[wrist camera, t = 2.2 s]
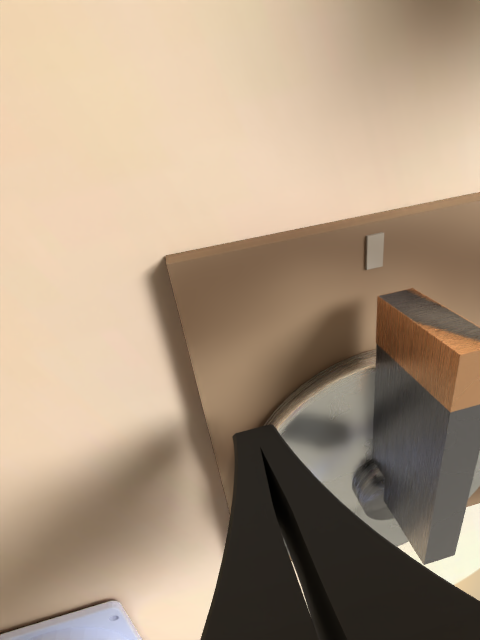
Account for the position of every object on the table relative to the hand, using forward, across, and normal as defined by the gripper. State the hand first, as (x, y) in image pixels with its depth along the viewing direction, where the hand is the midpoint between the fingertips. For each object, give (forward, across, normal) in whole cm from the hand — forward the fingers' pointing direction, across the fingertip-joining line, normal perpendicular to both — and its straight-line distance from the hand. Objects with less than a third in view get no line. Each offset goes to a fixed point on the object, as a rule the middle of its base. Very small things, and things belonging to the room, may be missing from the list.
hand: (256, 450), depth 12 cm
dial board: (+4, -6, +3) cm, 8 cm away
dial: (+2, -5, +4) cm, 7 cm away
